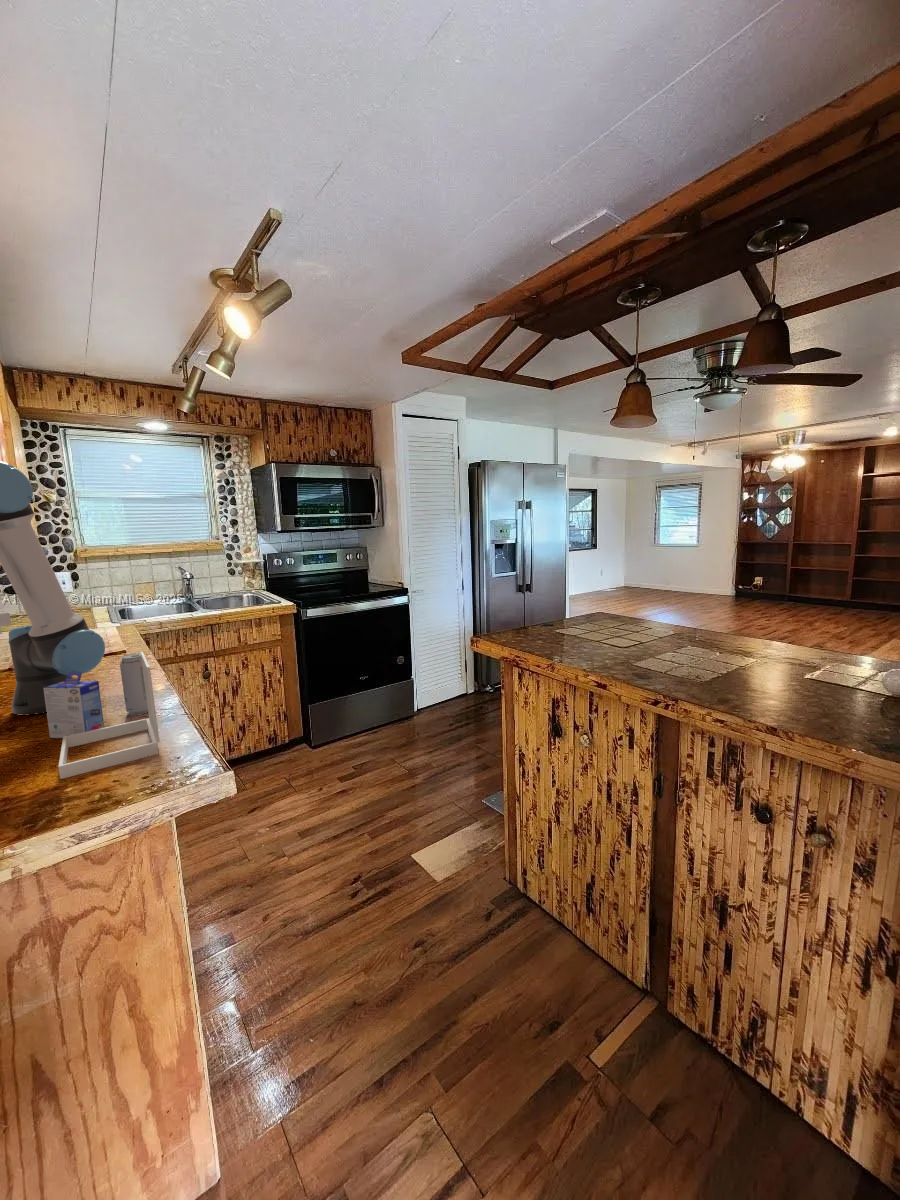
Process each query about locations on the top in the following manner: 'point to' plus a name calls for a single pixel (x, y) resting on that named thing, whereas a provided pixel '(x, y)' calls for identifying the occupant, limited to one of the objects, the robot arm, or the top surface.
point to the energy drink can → (133, 684)
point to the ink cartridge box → (73, 706)
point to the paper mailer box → (111, 732)
